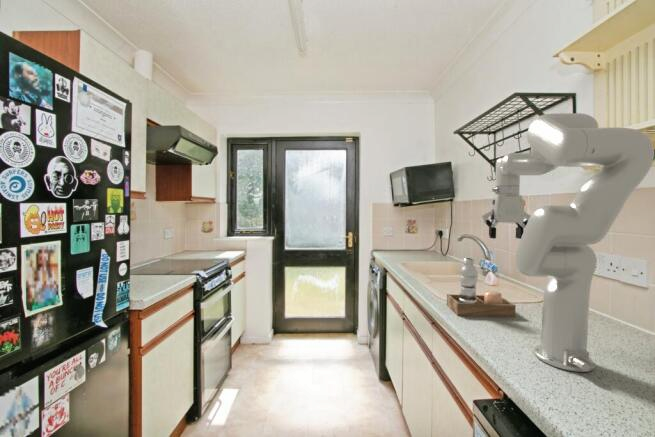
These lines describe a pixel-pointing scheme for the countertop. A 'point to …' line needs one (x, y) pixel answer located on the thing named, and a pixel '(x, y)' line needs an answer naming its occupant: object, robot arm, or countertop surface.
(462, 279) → the grey metal bottle
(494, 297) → the peach colored egg
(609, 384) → the countertop surface
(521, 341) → the countertop surface
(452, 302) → the crate
